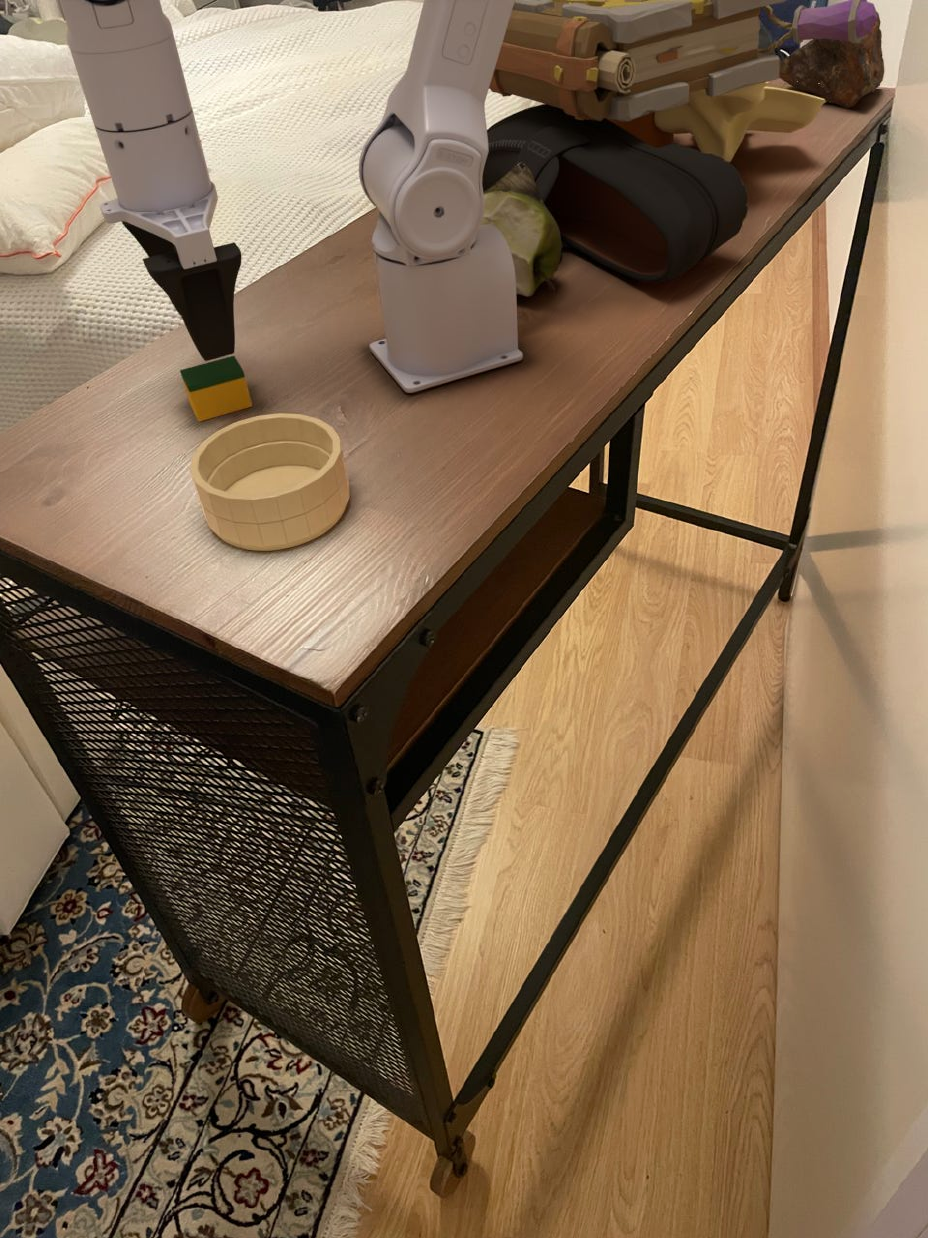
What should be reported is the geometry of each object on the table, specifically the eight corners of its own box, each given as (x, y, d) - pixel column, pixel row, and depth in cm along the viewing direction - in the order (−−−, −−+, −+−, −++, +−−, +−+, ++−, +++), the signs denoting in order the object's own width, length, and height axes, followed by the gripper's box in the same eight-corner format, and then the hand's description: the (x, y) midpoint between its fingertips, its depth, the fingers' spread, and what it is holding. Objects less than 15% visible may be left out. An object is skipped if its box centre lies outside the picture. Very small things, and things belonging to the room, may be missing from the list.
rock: (774, 109, 115) (842, 52, 114) (842, 163, 110) (915, 103, 108) (762, 16, 103) (839, -49, 102) (839, 72, 98) (921, 3, 96)
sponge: (243, 390, 70) (234, 355, 68) (252, 406, 68) (243, 370, 66) (190, 405, 69) (179, 369, 67) (198, 422, 67) (187, 385, 65)
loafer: (497, 81, 87) (403, 126, 82) (762, 151, 73) (669, 212, 68) (502, 186, 95) (416, 235, 89) (744, 269, 81) (659, 332, 75)
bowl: (324, 451, 64) (313, 398, 61) (371, 523, 57) (361, 469, 55) (193, 491, 61) (175, 438, 58) (227, 571, 55) (210, 517, 52)
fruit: (599, 215, 76) (570, 286, 73) (532, 272, 84) (504, 338, 81) (511, 138, 73) (477, 208, 69) (450, 205, 80) (417, 271, 77)
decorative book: (632, 155, 71) (633, -11, 64) (458, 95, 89) (443, -39, 82) (877, 75, 78) (902, -82, 71) (671, 34, 96) (674, -94, 89)
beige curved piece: (724, 61, 80) (711, 141, 82) (866, 103, 90) (852, 174, 92) (571, 95, 99) (563, 160, 100) (703, 127, 108) (694, 186, 110)
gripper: (58, 100, 59) (128, 305, 69) (94, 166, 49) (169, 395, 59) (169, 78, 61) (222, 281, 70) (224, 138, 51) (277, 364, 61)
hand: (205, 331), depth 65 cm, fingers open, 7 cm apart
